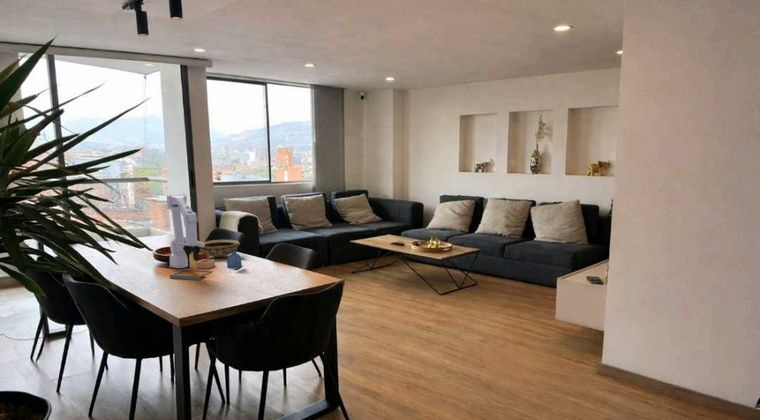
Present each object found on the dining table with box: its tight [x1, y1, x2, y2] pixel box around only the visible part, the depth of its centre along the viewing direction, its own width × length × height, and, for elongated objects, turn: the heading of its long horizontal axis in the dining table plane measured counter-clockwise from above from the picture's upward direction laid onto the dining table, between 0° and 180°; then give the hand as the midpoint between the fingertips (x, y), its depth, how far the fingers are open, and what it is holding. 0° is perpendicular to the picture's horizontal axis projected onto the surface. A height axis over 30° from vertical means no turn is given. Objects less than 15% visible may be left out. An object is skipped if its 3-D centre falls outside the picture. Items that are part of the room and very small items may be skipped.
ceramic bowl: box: [199, 239, 240, 260], centre depth 320 cm, size 30×24×10 cm
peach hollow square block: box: [195, 258, 216, 270], centre depth 290 cm, size 8×8×5 cm
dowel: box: [189, 252, 197, 269], centre depth 273 cm, size 3×3×8 cm
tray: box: [169, 268, 214, 281], centre depth 274 cm, size 18×13×2 cm
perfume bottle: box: [226, 248, 243, 271], centre depth 290 cm, size 6×6×12 cm
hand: (192, 259), depth 273 cm, fingers closed on dowel, 3 cm apart
